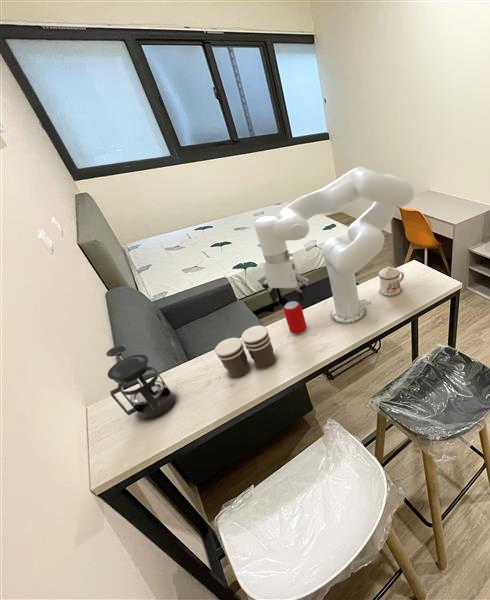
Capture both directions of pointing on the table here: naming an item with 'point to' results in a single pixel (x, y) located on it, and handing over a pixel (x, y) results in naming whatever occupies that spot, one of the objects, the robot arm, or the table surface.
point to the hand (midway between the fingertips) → (288, 299)
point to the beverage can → (295, 317)
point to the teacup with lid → (390, 281)
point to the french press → (146, 392)
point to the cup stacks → (235, 355)
